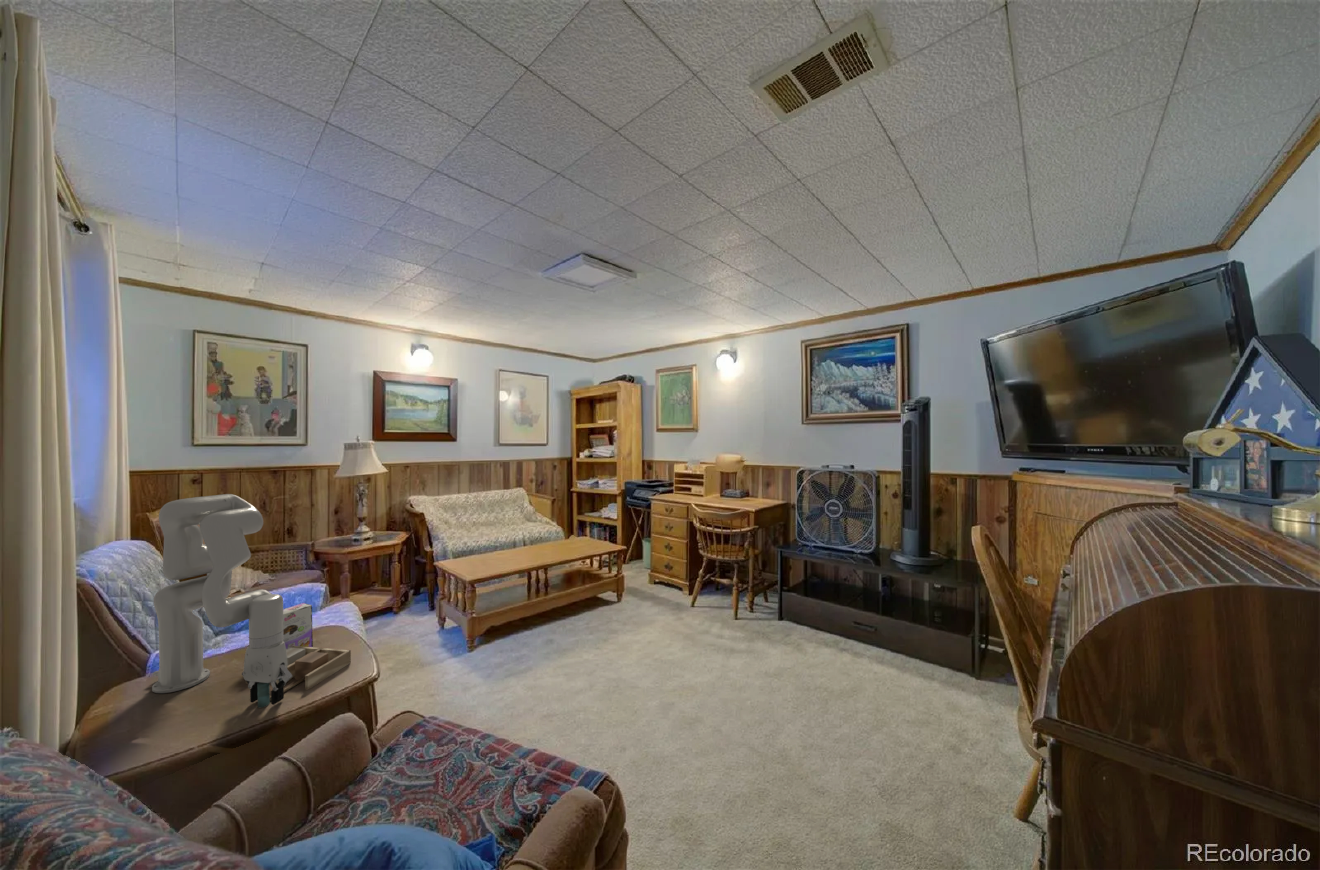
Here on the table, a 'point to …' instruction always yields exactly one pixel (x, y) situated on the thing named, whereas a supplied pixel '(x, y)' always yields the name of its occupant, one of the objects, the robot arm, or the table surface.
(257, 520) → the robot arm
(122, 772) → the table surface
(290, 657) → the grey block
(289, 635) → the candy box
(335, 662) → the lane organizer
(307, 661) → the tethered block
